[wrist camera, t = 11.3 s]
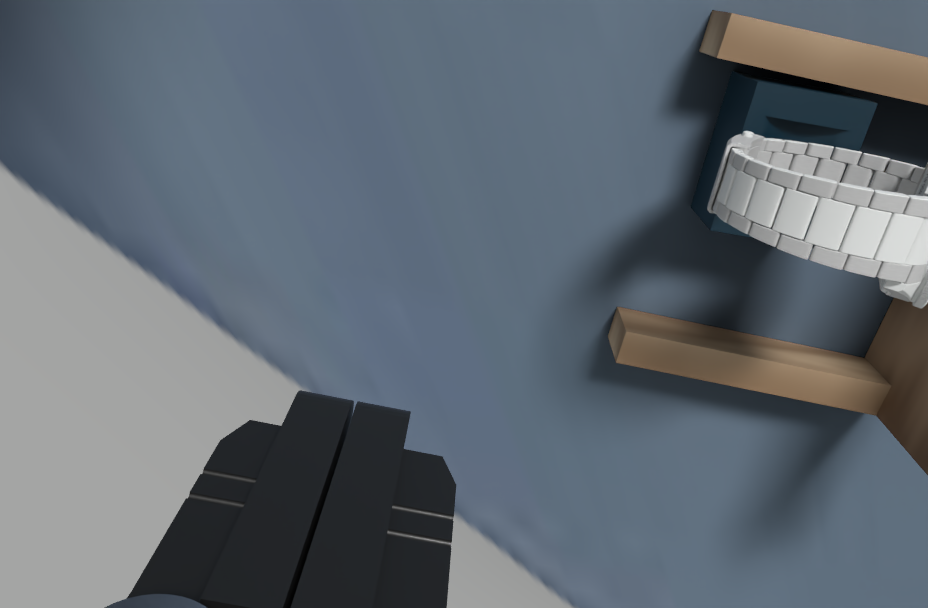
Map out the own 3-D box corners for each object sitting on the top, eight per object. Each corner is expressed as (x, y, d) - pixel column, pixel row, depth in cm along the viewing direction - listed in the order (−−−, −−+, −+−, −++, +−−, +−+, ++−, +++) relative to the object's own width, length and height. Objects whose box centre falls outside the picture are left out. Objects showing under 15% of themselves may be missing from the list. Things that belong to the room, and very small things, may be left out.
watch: (836, 232, 31) (999, 355, 21) (649, 199, 31) (723, 307, 21) (890, 97, 29) (1101, 161, 19) (688, 60, 28) (792, 106, 18)
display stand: (712, 10, 28) (821, 27, 18) (1059, 88, 28) (1334, 143, 19) (607, 336, 33) (650, 475, 24) (898, 395, 34) (1049, 554, 25)
